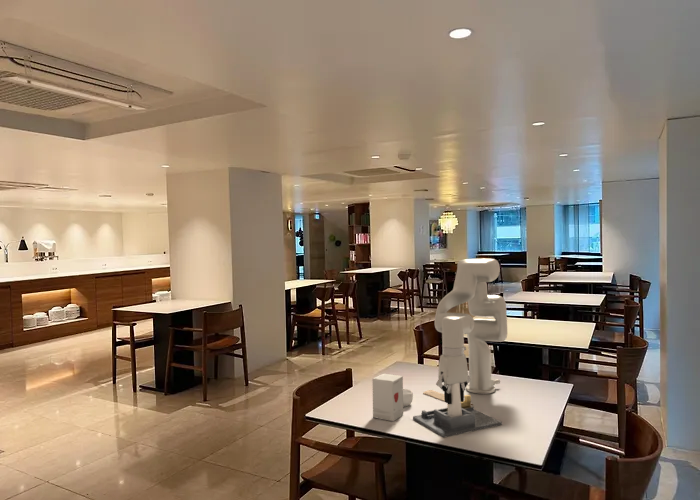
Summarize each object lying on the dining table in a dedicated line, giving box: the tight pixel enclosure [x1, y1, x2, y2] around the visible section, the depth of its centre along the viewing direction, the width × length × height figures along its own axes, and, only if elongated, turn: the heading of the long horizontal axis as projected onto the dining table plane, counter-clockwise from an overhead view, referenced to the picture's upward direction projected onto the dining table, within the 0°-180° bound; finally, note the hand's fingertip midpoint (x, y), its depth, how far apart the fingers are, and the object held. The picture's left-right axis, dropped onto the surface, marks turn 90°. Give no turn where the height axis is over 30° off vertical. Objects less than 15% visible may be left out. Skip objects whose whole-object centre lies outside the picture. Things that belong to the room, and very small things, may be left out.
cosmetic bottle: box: [447, 383, 462, 417], centre depth 175 cm, size 6×6×22 cm
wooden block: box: [446, 394, 472, 408], centre depth 188 cm, size 10×2×5 cm, turn 114°
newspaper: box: [422, 389, 474, 406], centre depth 205 cm, size 24×7×2 cm, turn 33°
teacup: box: [403, 388, 414, 407], centre depth 200 cm, size 10×8×5 cm
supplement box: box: [371, 373, 404, 422], centre depth 186 cm, size 9×9×15 cm
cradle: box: [412, 406, 503, 438], centre depth 179 cm, size 25×20×5 cm
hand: (454, 401), depth 175 cm, fingers open, 4 cm apart
